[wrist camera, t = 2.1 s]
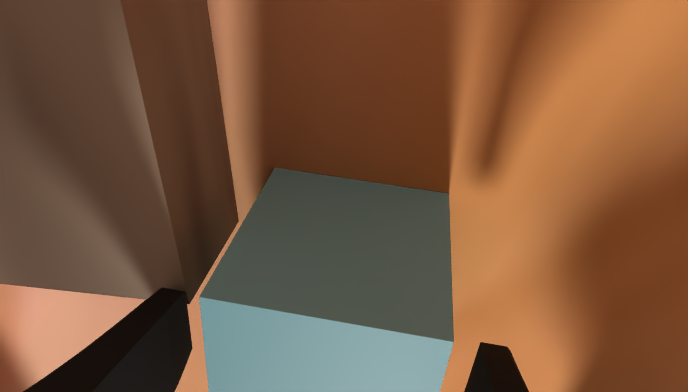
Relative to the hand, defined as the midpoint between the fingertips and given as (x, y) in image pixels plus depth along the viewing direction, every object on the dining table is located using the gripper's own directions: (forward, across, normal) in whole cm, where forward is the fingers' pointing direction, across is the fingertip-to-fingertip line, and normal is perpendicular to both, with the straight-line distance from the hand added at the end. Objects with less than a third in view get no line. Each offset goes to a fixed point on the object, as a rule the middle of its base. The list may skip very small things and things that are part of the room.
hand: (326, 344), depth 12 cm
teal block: (+4, 0, 0) cm, 4 cm away
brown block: (+4, +8, -4) cm, 10 cm away
